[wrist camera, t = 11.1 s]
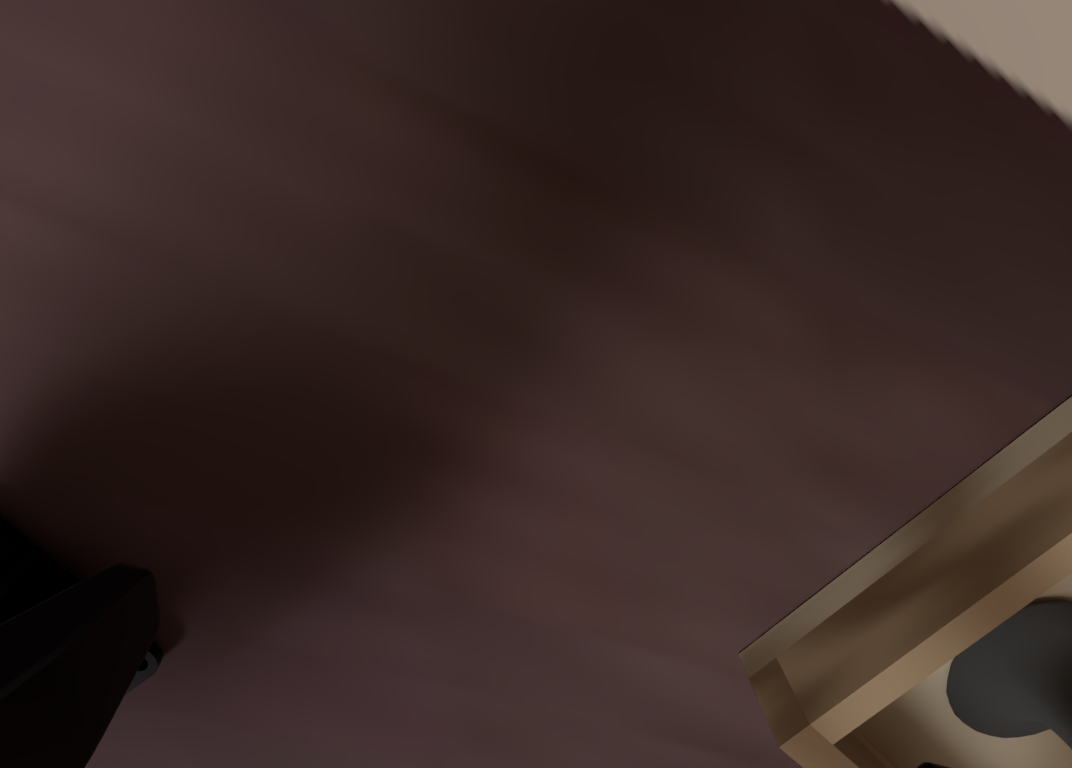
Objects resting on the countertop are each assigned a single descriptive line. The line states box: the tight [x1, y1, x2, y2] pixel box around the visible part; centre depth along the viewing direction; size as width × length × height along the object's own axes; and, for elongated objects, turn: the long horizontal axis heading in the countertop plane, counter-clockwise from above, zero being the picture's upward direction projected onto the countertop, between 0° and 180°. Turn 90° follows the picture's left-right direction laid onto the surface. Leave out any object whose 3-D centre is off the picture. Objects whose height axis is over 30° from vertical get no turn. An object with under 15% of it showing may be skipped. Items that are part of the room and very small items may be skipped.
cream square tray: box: [738, 396, 1072, 768], centre depth 23 cm, size 12×12×4 cm
